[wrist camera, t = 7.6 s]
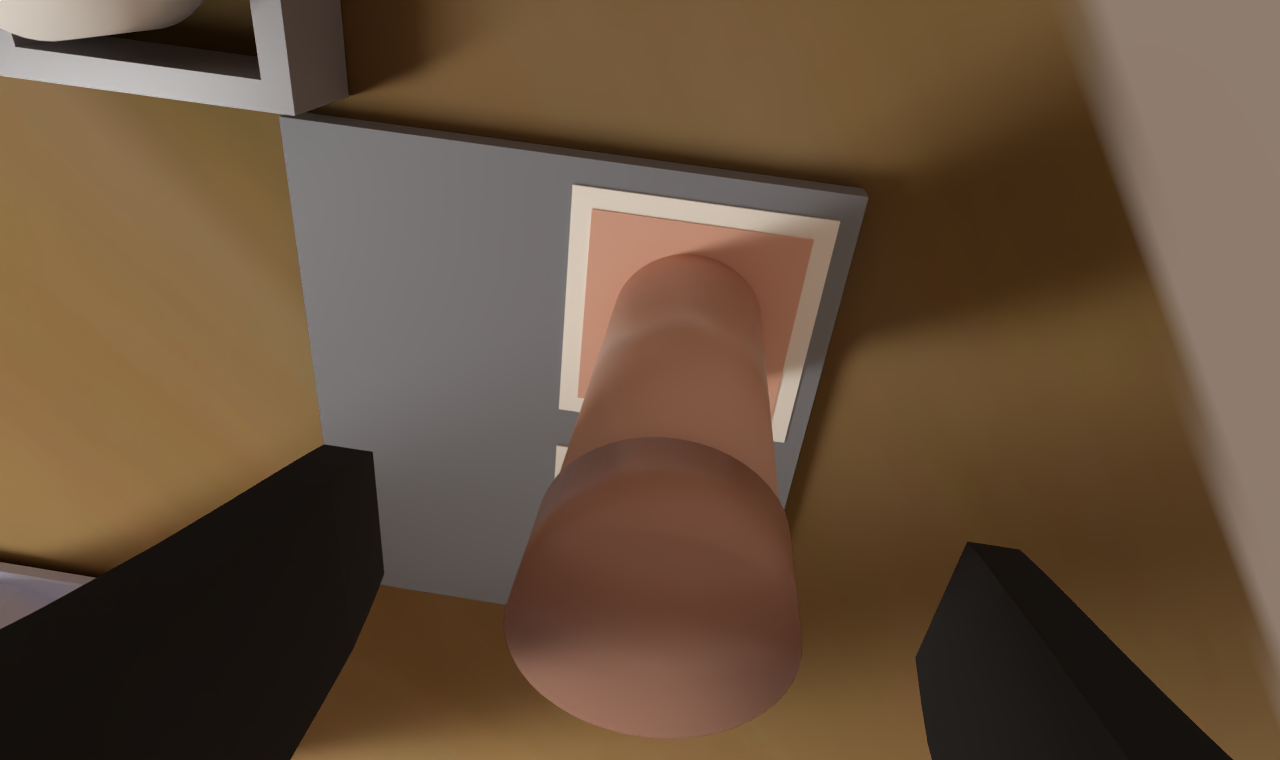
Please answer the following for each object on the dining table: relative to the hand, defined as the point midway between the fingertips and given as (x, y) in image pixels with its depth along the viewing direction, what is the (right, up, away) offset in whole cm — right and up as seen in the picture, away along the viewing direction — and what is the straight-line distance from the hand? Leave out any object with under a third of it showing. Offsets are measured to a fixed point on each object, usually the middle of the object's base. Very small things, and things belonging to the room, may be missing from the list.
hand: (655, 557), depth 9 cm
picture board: (-2, +2, +8) cm, 8 cm away
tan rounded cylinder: (+1, +3, +6) cm, 7 cm away
